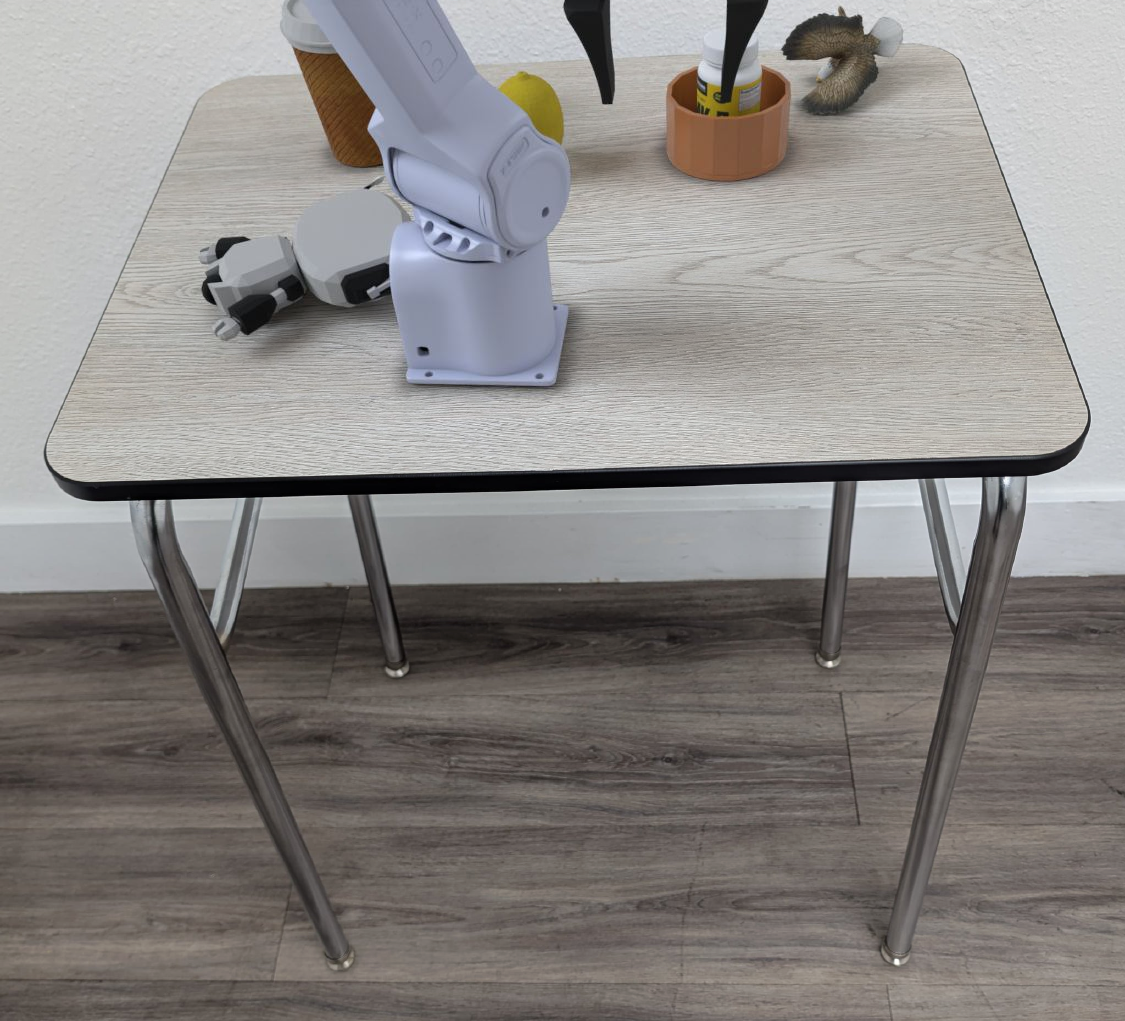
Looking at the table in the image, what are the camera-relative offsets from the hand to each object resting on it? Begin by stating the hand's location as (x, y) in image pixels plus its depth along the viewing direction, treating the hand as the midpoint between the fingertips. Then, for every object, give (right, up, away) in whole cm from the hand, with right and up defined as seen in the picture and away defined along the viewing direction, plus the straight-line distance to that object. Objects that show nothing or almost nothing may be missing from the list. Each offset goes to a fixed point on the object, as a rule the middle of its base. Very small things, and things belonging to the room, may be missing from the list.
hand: (666, 96), depth 72 cm
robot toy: (-24, -12, +5) cm, 27 cm away
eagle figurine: (+16, +8, +20) cm, 27 cm away
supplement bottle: (+6, +1, +14) cm, 15 cm away
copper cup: (+6, +1, +14) cm, 15 cm away
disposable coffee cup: (-23, +3, +19) cm, 30 cm away
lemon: (-9, -1, +14) cm, 17 cm away
